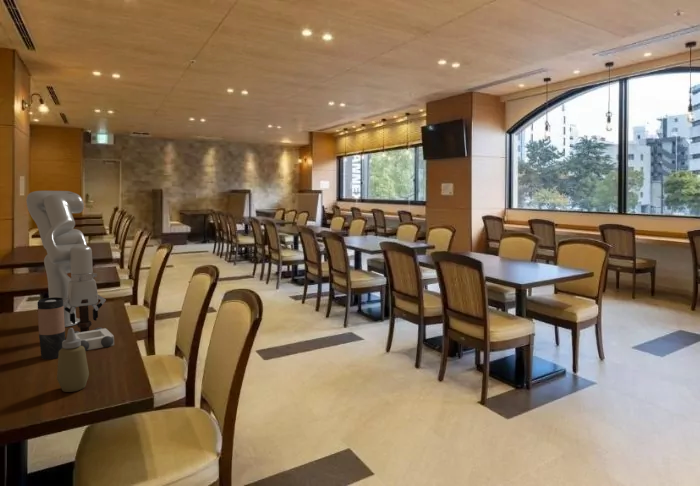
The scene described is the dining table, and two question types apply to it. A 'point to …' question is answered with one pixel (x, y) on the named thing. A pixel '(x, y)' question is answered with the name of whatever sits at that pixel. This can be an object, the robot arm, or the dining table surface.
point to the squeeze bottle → (72, 364)
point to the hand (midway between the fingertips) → (84, 321)
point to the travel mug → (51, 326)
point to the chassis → (95, 338)
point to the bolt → (84, 317)
